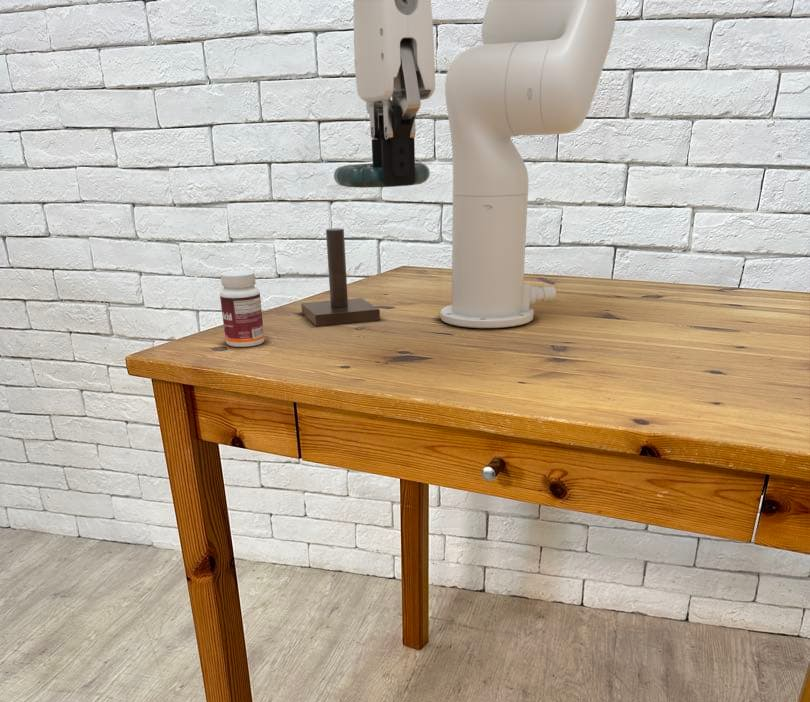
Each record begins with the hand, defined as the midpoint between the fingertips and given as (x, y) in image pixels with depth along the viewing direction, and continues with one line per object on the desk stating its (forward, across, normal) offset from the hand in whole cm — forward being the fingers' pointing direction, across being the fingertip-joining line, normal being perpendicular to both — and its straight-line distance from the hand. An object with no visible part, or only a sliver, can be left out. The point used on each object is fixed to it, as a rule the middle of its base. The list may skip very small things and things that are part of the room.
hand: (394, 182), depth 76 cm
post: (+19, +27, -1) cm, 33 cm away
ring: (-1, +4, 0) cm, 4 cm away
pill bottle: (+19, +18, +14) cm, 29 cm away
